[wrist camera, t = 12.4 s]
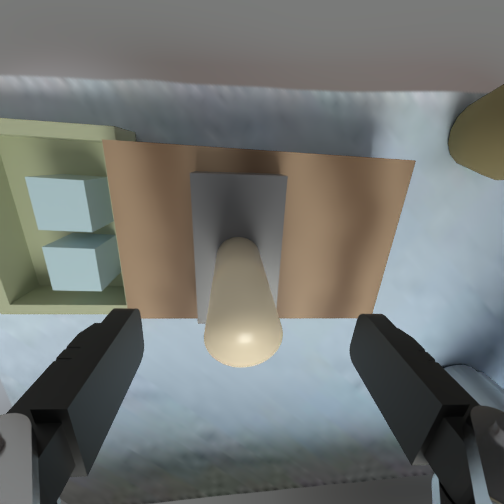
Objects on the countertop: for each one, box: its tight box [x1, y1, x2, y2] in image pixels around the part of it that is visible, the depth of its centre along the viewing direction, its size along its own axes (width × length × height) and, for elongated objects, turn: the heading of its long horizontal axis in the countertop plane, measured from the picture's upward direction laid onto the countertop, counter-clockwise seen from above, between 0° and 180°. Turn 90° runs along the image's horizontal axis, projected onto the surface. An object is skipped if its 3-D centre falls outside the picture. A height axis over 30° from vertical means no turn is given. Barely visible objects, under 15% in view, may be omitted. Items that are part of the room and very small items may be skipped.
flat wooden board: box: [102, 139, 416, 318], centre depth 22 cm, size 22×14×6 cm, turn 87°
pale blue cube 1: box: [25, 174, 114, 232], centre depth 20 cm, size 4×4×4 cm
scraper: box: [190, 171, 288, 367], centre depth 14 cm, size 6×11×10 cm, turn 178°
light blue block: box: [42, 233, 121, 291], centre depth 22 cm, size 4×4×4 cm
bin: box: [0, 118, 136, 314], centre depth 21 cm, size 12×16×4 cm
